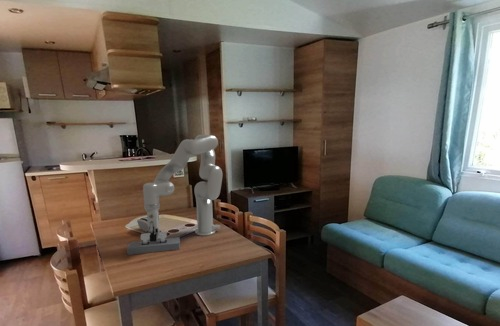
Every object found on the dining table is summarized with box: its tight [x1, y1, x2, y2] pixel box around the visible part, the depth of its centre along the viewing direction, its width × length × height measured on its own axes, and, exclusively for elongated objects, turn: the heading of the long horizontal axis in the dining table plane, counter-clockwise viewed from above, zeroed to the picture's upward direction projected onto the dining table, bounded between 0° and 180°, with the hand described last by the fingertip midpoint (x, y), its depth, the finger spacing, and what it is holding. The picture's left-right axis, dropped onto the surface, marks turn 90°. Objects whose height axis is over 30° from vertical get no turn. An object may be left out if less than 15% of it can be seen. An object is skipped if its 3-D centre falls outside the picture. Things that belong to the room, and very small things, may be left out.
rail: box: [126, 236, 181, 256], centre depth 148 cm, size 26×8×4 cm, turn 103°
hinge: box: [136, 216, 162, 233], centre depth 173 cm, size 17×5×10 cm, turn 53°
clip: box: [140, 231, 168, 245], centre depth 148 cm, size 13×3×8 cm, turn 102°
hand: (154, 238), depth 148 cm, fingers open, 6 cm apart
